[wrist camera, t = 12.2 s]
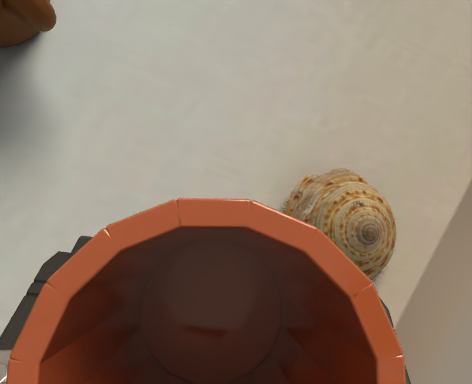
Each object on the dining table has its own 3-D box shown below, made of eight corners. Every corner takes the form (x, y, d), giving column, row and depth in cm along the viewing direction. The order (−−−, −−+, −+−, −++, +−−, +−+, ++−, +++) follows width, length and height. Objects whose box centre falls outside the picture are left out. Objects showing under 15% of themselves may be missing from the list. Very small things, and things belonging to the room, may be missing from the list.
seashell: (336, 139, 30) (430, 210, 26) (335, 175, 35) (414, 239, 31) (253, 214, 28) (340, 299, 25) (265, 240, 33) (338, 314, 30)
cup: (165, 421, 16) (84, 715, 6) (107, 264, 16) (-52, 287, 6) (315, 352, 16) (474, 510, 6) (254, 205, 17) (313, 143, 7)
